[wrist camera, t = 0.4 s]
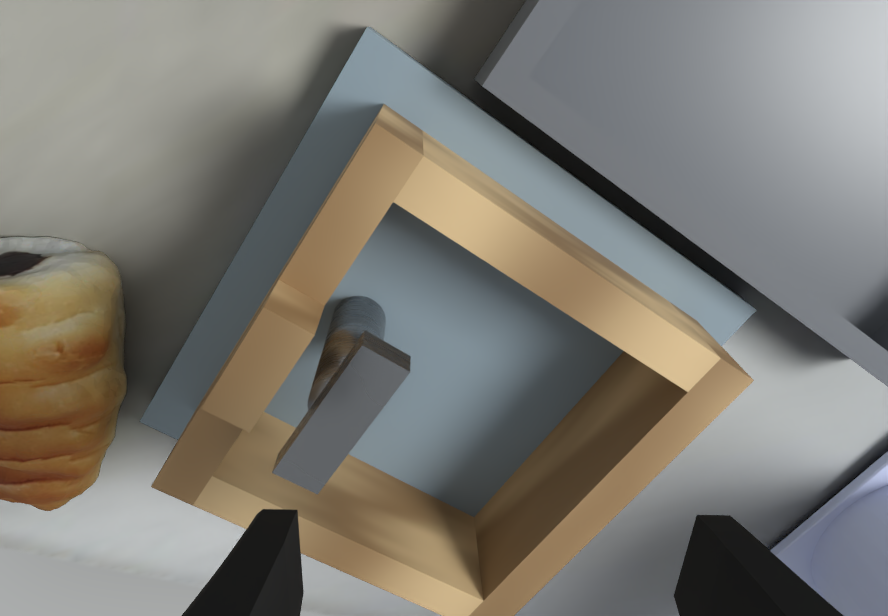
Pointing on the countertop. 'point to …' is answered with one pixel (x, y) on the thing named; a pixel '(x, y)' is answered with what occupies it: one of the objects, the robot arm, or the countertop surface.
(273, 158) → the countertop surface
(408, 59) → the stake base
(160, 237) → the countertop surface
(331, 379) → the stake post
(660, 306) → the wooden frame
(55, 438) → the pastry
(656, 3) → the tray
